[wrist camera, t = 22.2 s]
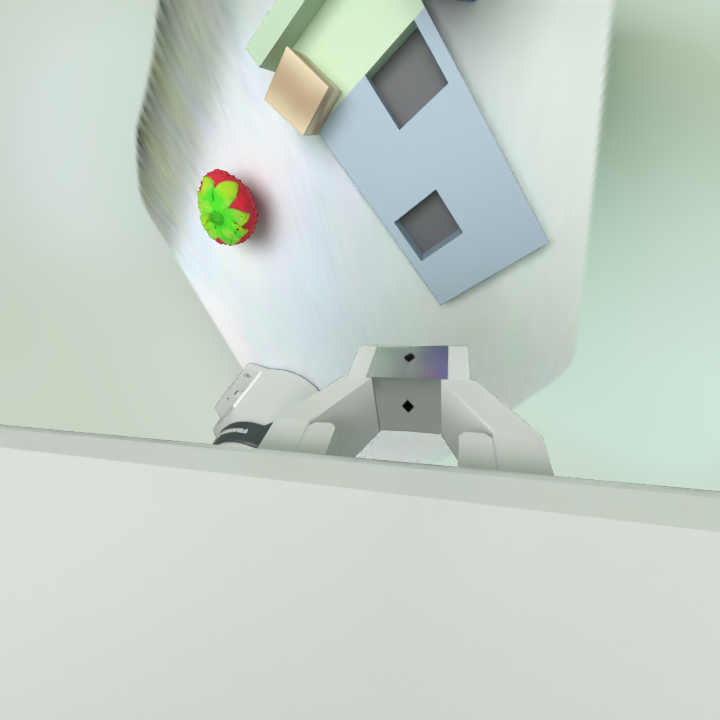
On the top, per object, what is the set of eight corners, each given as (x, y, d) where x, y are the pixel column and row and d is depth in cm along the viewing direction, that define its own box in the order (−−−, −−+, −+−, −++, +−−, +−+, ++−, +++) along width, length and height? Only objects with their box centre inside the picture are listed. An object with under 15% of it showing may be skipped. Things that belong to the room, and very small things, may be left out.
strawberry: (271, 168, 37) (221, 180, 29) (273, 236, 41) (230, 263, 33) (223, 160, 37) (161, 169, 29) (230, 228, 42) (178, 252, 34)
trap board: (441, 294, 41) (439, 317, 36) (277, 60, 31) (245, 48, 27) (542, 234, 34) (556, 251, 30) (375, -80, 25) (357, -128, 20)
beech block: (318, 134, 31) (303, 135, 28) (283, 102, 31) (263, 99, 27) (342, 91, 29) (328, 86, 26) (305, 55, 28) (286, 45, 25)
